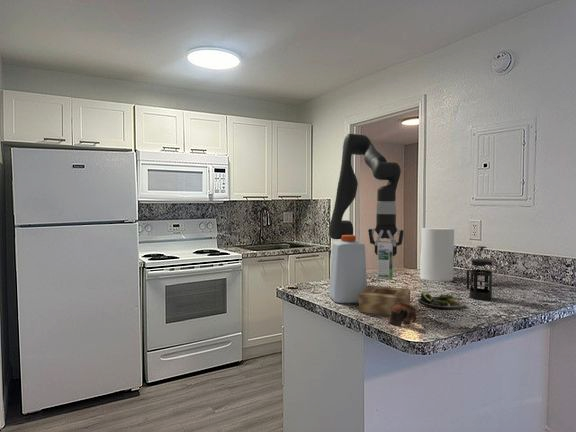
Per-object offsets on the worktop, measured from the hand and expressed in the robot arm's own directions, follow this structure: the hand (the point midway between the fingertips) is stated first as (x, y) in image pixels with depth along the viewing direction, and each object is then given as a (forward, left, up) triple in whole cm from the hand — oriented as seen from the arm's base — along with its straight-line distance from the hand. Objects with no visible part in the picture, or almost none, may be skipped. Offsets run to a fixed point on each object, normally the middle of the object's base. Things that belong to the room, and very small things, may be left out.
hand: (385, 255), depth 159 cm
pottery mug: (+9, -17, -22) cm, 29 cm away
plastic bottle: (-17, +9, -22) cm, 29 cm away
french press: (+36, +36, -22) cm, 55 cm away
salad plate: (+20, +17, -22) cm, 34 cm away
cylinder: (+16, +76, -22) cm, 80 cm away
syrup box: (0, 0, -9) cm, 9 cm away
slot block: (0, 0, -21) cm, 21 cm away
